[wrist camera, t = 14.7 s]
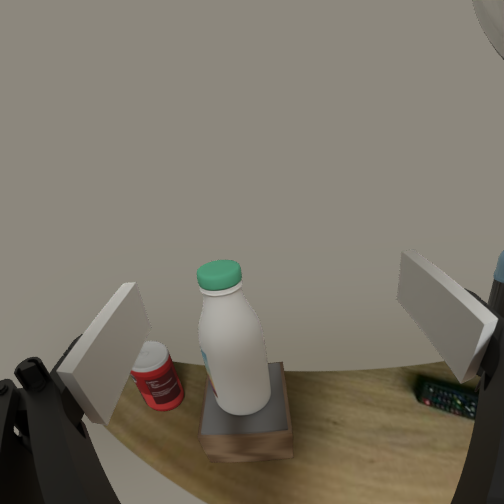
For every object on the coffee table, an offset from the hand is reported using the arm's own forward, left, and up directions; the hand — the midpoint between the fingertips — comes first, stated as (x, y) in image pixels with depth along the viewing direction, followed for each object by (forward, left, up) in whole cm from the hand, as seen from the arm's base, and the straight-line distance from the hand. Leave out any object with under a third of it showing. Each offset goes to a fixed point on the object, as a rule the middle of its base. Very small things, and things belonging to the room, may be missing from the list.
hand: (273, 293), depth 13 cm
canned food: (+21, -22, -33) cm, 45 cm away
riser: (+5, -15, -33) cm, 36 cm away
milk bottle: (+5, -15, -25) cm, 29 cm away
